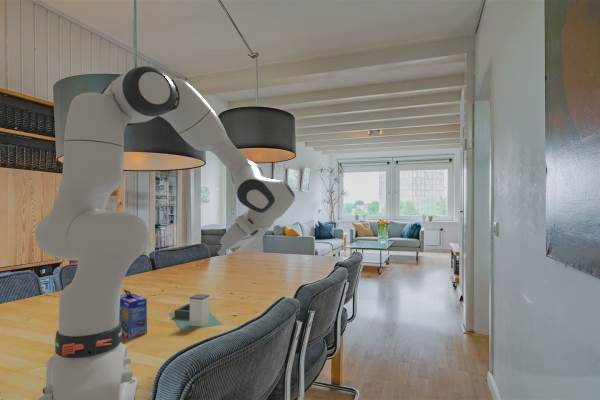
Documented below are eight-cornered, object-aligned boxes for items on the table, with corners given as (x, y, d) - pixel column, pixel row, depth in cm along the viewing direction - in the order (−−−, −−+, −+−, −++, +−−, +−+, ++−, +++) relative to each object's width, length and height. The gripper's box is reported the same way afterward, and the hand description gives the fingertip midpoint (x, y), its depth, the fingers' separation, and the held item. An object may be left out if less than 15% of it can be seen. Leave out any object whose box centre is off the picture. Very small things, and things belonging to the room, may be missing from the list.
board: (222, 329, 113) (223, 316, 113) (181, 336, 107) (182, 323, 107) (204, 311, 131) (204, 301, 131) (168, 317, 125) (168, 306, 125)
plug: (208, 322, 116) (209, 294, 116) (201, 326, 111) (202, 298, 111) (196, 320, 117) (197, 293, 117) (189, 325, 112) (189, 297, 112)
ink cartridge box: (114, 335, 107) (115, 288, 107) (132, 331, 111) (133, 285, 111) (129, 344, 100) (130, 293, 101) (147, 338, 105) (148, 290, 105)
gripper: (259, 214, 121) (233, 242, 123) (235, 216, 101) (204, 249, 103) (271, 228, 120) (245, 255, 122) (249, 232, 100) (218, 265, 102)
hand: (226, 252), depth 113 cm, fingers open, 8 cm apart
